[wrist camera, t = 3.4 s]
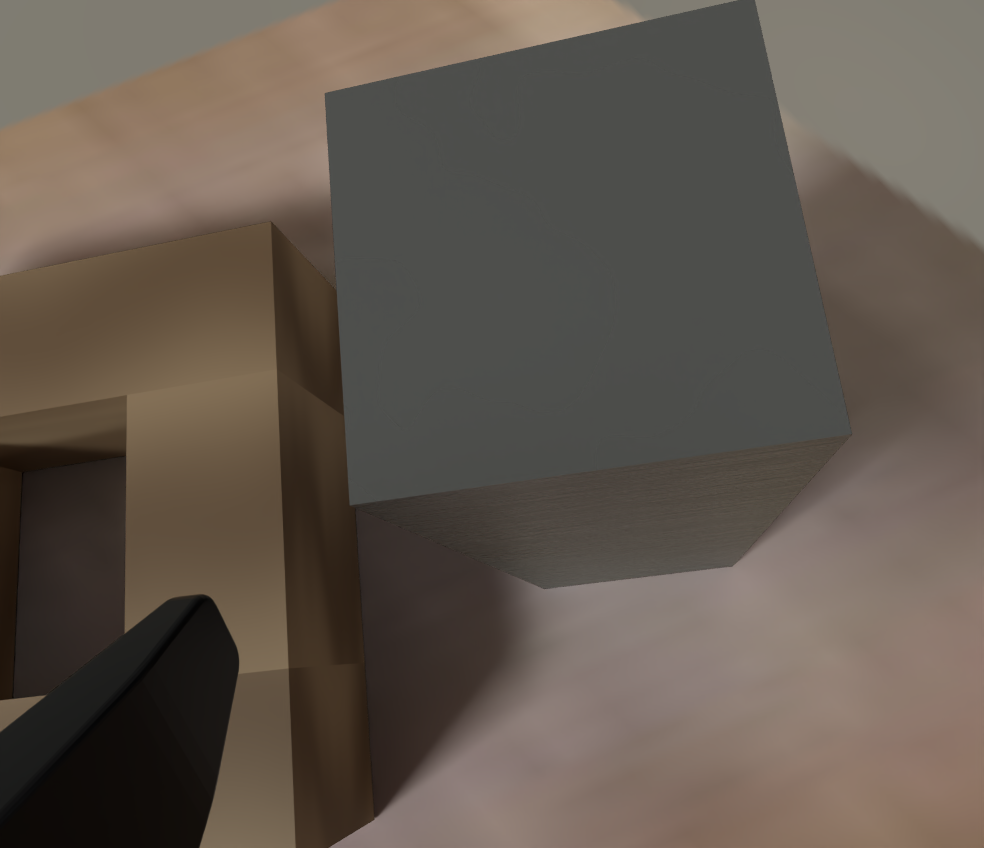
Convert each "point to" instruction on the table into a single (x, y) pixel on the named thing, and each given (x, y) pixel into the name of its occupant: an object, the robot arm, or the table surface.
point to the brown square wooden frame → (211, 494)
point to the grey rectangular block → (581, 302)
